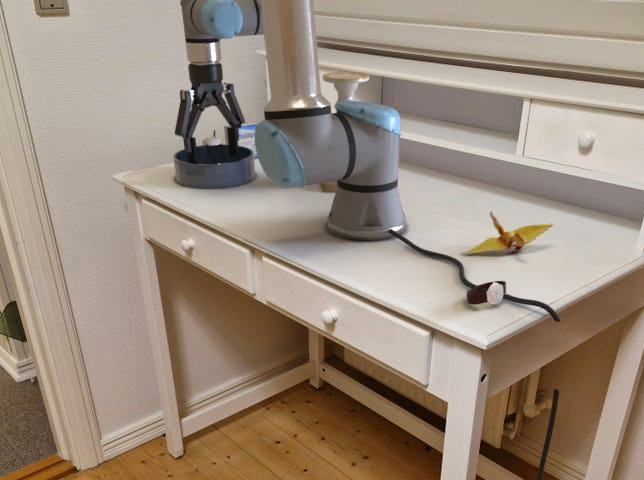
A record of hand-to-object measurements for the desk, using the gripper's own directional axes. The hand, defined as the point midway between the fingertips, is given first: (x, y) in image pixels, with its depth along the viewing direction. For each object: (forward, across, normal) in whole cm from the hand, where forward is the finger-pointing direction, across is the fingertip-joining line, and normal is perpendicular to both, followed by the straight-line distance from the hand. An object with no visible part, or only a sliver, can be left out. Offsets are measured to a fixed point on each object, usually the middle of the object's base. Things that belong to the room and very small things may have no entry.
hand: (214, 160), depth 161 cm
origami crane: (+4, -5, +77) cm, 77 cm away
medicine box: (+4, -16, -8) cm, 18 cm away
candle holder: (+4, -16, +28) cm, 33 cm away
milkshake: (+4, 0, 0) cm, 4 cm away
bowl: (+4, 0, 0) cm, 4 cm away
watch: (+4, +16, +85) cm, 86 cm away
